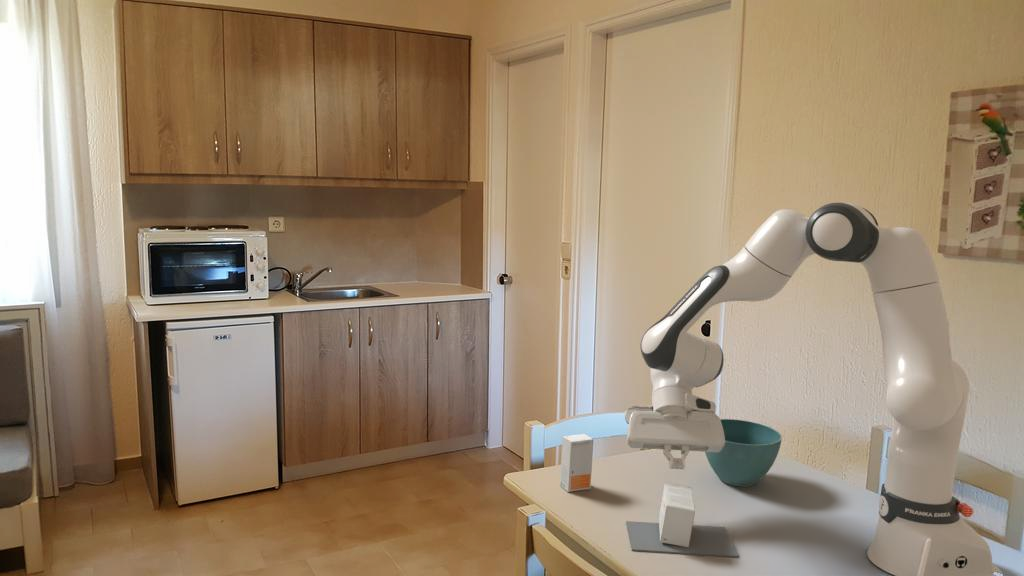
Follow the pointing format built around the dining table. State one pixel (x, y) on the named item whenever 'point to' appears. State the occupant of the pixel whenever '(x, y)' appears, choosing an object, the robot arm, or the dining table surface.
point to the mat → (701, 543)
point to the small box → (676, 515)
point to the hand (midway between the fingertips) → (677, 468)
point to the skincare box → (576, 462)
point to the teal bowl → (745, 452)
